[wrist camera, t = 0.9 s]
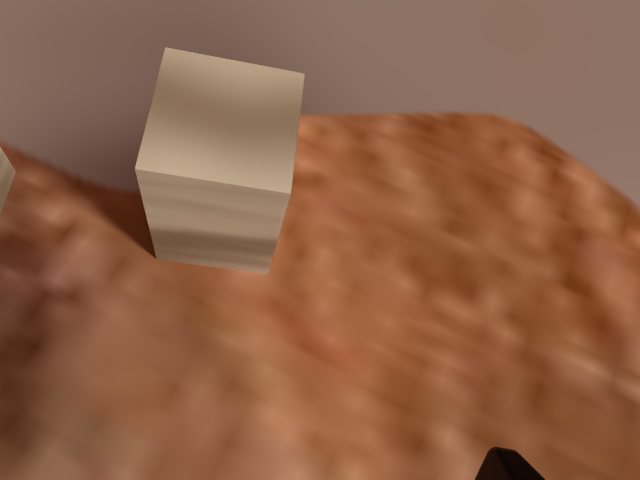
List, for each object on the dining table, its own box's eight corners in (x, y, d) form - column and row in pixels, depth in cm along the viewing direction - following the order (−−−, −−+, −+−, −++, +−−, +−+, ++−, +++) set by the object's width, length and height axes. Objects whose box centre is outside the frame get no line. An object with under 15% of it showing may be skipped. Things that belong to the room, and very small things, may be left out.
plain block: (267, 274, 25) (290, 193, 18) (156, 259, 25) (134, 168, 18) (279, 180, 28) (304, 73, 20) (177, 163, 27) (165, 47, 20)
